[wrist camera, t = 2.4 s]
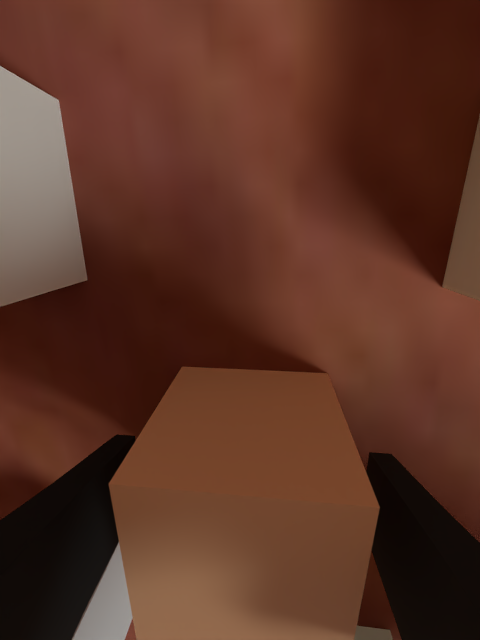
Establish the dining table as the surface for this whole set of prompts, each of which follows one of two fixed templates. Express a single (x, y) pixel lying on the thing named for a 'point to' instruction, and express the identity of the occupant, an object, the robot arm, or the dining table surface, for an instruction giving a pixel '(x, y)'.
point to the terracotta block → (245, 511)
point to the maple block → (467, 233)
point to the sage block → (372, 634)
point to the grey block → (107, 606)
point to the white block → (35, 196)
